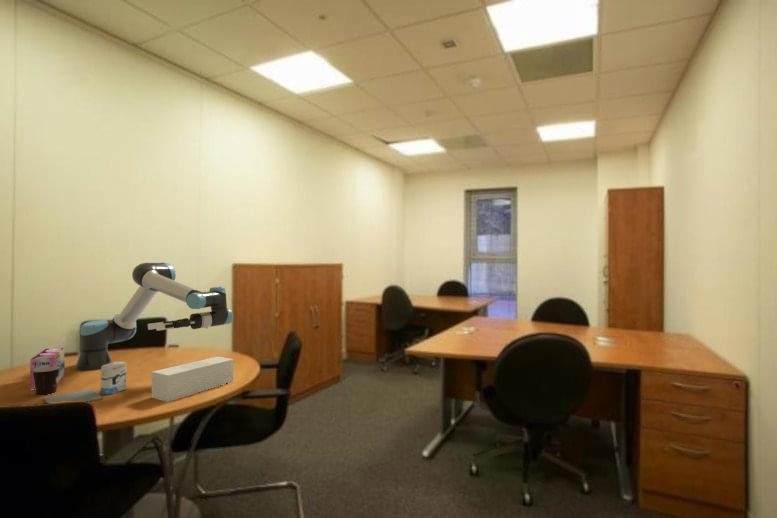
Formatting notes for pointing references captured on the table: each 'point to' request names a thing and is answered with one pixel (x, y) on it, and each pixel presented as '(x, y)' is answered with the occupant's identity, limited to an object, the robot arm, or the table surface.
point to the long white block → (191, 378)
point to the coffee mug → (46, 380)
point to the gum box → (47, 362)
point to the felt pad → (75, 397)
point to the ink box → (113, 377)
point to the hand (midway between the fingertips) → (152, 327)
